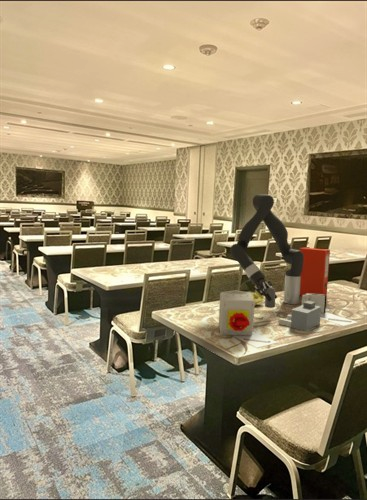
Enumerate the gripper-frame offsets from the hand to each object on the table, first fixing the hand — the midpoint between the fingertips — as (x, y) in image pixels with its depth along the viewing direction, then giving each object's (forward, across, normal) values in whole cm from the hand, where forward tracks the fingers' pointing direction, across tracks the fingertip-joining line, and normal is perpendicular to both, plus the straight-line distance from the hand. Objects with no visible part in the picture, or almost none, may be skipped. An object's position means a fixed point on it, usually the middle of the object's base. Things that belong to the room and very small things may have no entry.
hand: (273, 299), depth 194 cm
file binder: (+4, +62, +13) cm, 64 cm away
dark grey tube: (+2, 0, +4) cm, 5 cm away
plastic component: (-9, +13, +24) cm, 29 cm away
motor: (+17, +4, -3) cm, 18 cm away
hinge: (+15, +28, +1) cm, 31 cm away
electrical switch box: (+7, -34, +7) cm, 36 cm away
